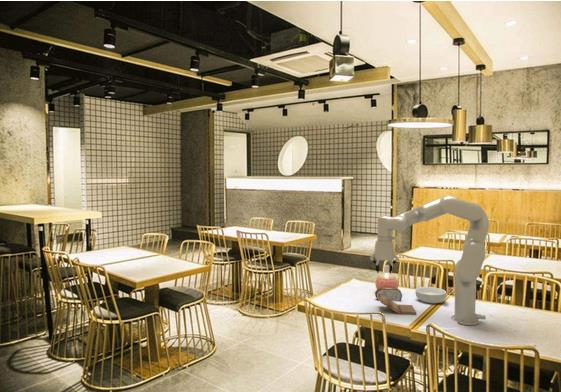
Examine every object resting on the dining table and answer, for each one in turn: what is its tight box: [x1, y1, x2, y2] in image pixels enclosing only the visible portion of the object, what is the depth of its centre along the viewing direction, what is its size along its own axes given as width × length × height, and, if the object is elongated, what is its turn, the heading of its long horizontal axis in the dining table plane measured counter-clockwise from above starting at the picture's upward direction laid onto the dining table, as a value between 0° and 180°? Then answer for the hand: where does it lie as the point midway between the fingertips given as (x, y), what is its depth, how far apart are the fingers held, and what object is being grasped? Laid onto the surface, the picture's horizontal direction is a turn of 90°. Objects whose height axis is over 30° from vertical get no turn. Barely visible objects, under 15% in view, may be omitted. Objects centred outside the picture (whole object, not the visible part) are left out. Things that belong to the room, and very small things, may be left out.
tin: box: [374, 287, 403, 302], centre depth 233 cm, size 15×3×8 cm, turn 84°
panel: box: [378, 294, 401, 315], centre depth 216 cm, size 11×12×2 cm
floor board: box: [398, 303, 417, 316], centre depth 216 cm, size 22×13×2 cm, turn 82°
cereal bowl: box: [414, 286, 447, 304], centre depth 233 cm, size 17×17×7 cm
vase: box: [374, 264, 399, 290], centre depth 250 cm, size 14×14×18 cm
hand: (384, 272), depth 216 cm, fingers open, 5 cm apart
